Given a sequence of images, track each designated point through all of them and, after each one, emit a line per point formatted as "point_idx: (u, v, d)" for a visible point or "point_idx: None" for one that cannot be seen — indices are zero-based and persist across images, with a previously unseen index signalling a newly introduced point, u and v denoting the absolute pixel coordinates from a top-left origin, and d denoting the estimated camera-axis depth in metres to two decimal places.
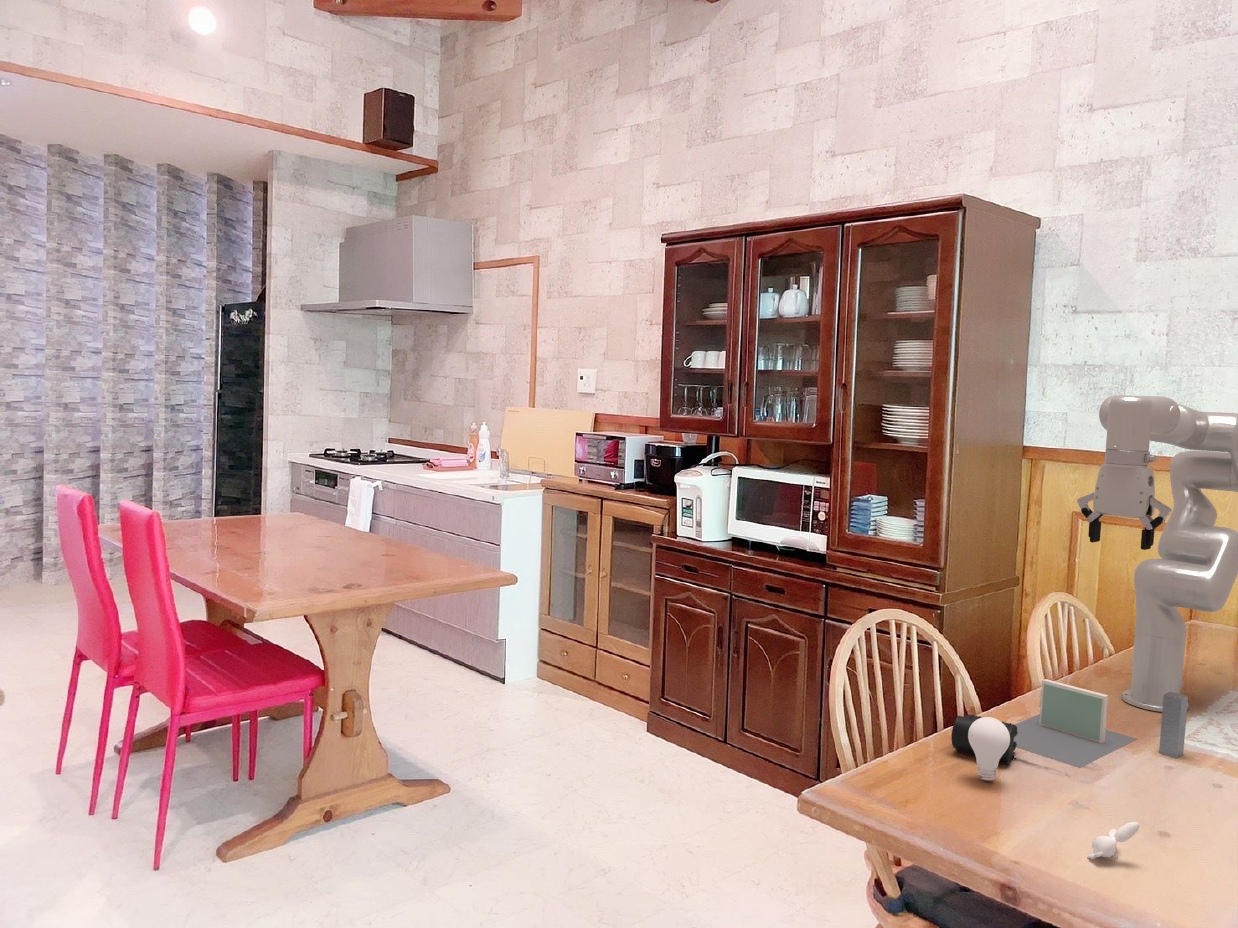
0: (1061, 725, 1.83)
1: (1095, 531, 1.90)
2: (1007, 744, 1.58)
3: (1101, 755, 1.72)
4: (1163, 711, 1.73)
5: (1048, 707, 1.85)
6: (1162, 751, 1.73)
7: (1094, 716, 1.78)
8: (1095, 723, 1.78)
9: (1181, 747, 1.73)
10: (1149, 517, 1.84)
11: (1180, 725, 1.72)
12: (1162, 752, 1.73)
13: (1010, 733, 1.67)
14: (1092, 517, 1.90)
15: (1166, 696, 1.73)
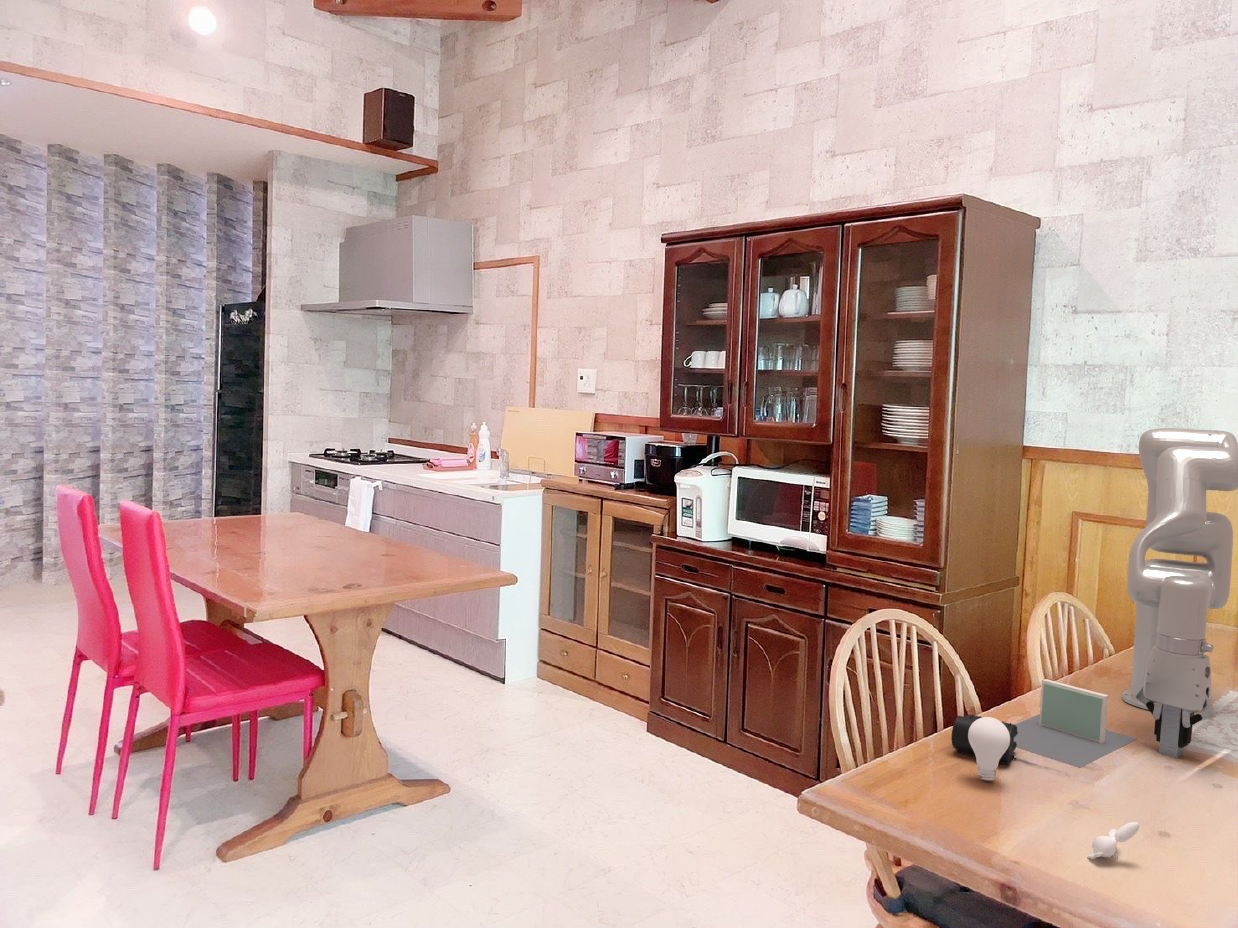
0: (1061, 725, 1.83)
1: None
2: (1007, 744, 1.58)
3: (1101, 755, 1.72)
4: (1163, 711, 1.73)
5: (1048, 707, 1.85)
6: (1162, 751, 1.73)
7: (1094, 716, 1.78)
8: (1095, 723, 1.78)
9: None
10: (1192, 712, 1.71)
11: (1180, 725, 1.72)
12: (1162, 752, 1.73)
13: (1010, 733, 1.67)
14: (1157, 713, 1.74)
15: None
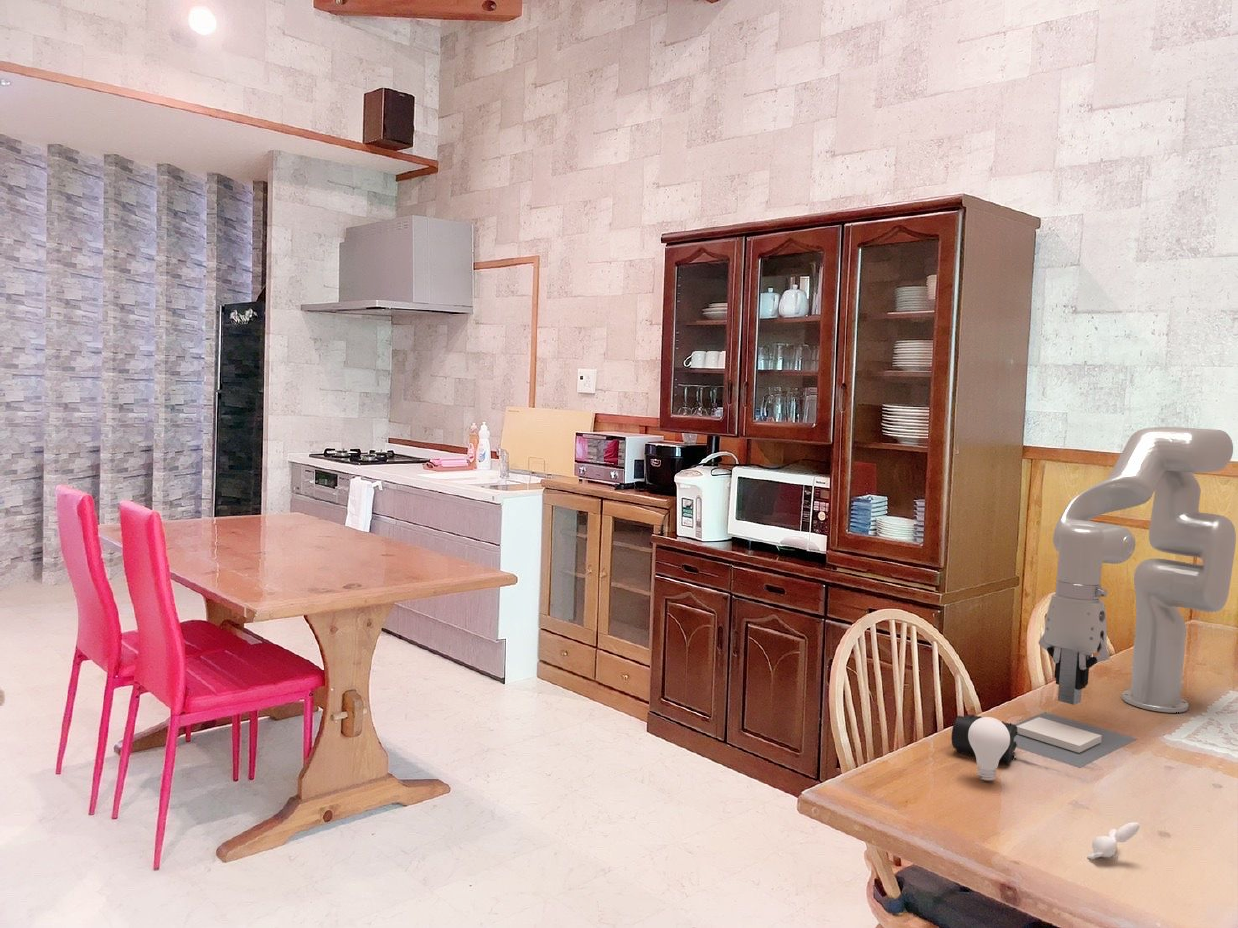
0: None
1: None
2: (1007, 744, 1.58)
3: (1101, 755, 1.72)
4: (1062, 655, 1.80)
5: None
6: (1061, 694, 1.81)
7: None
8: None
9: None
10: (1089, 656, 1.79)
11: (1077, 668, 1.79)
12: (1061, 694, 1.81)
13: (1010, 733, 1.67)
14: (1056, 657, 1.82)
15: None
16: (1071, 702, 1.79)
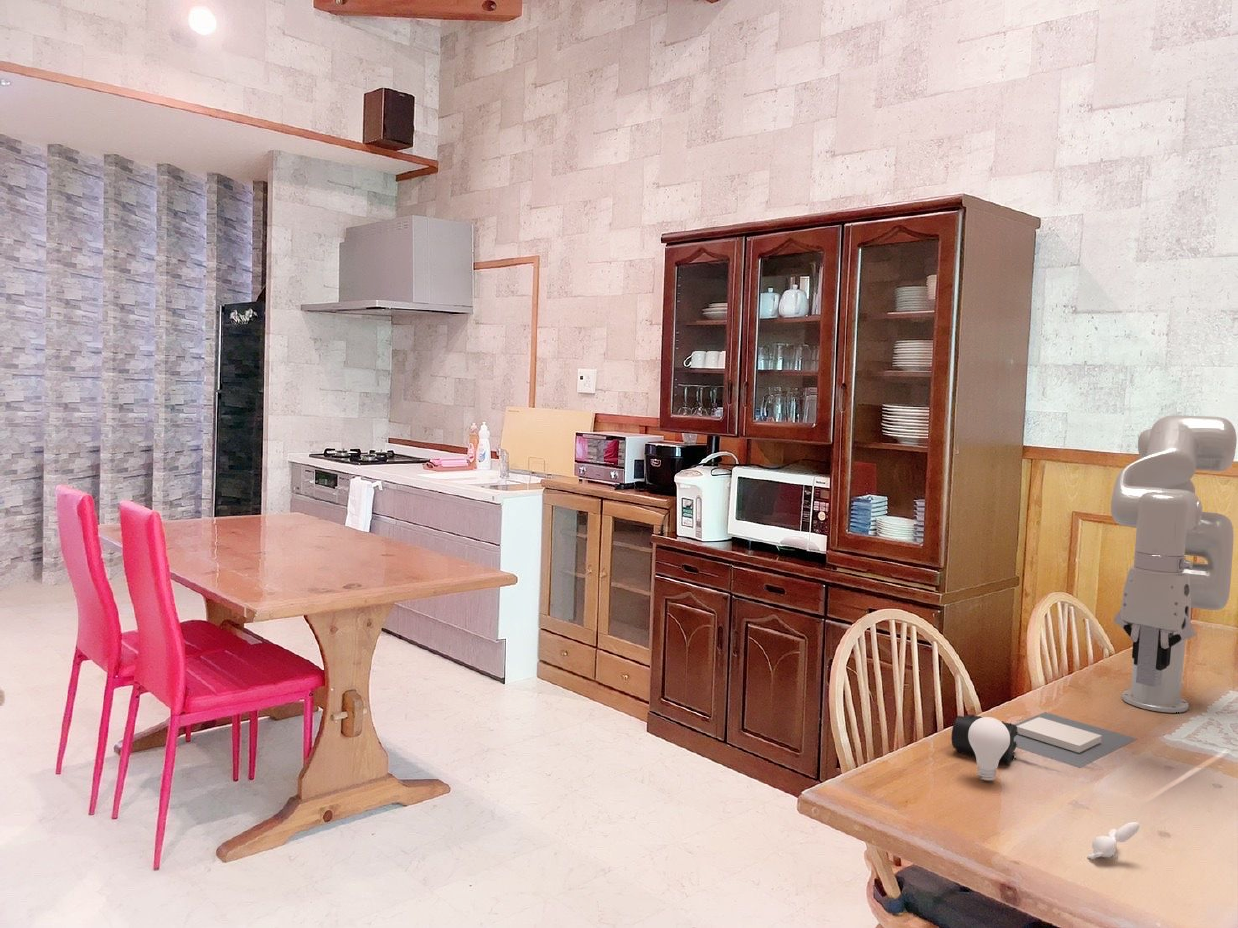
0: None
1: None
2: (1007, 744, 1.58)
3: (1101, 755, 1.72)
4: (1141, 633, 1.66)
5: None
6: (1140, 675, 1.66)
7: None
8: None
9: None
10: (1171, 633, 1.65)
11: (1158, 647, 1.65)
12: (1140, 675, 1.66)
13: (1010, 733, 1.67)
14: (1135, 635, 1.67)
15: None
16: (1151, 684, 1.65)
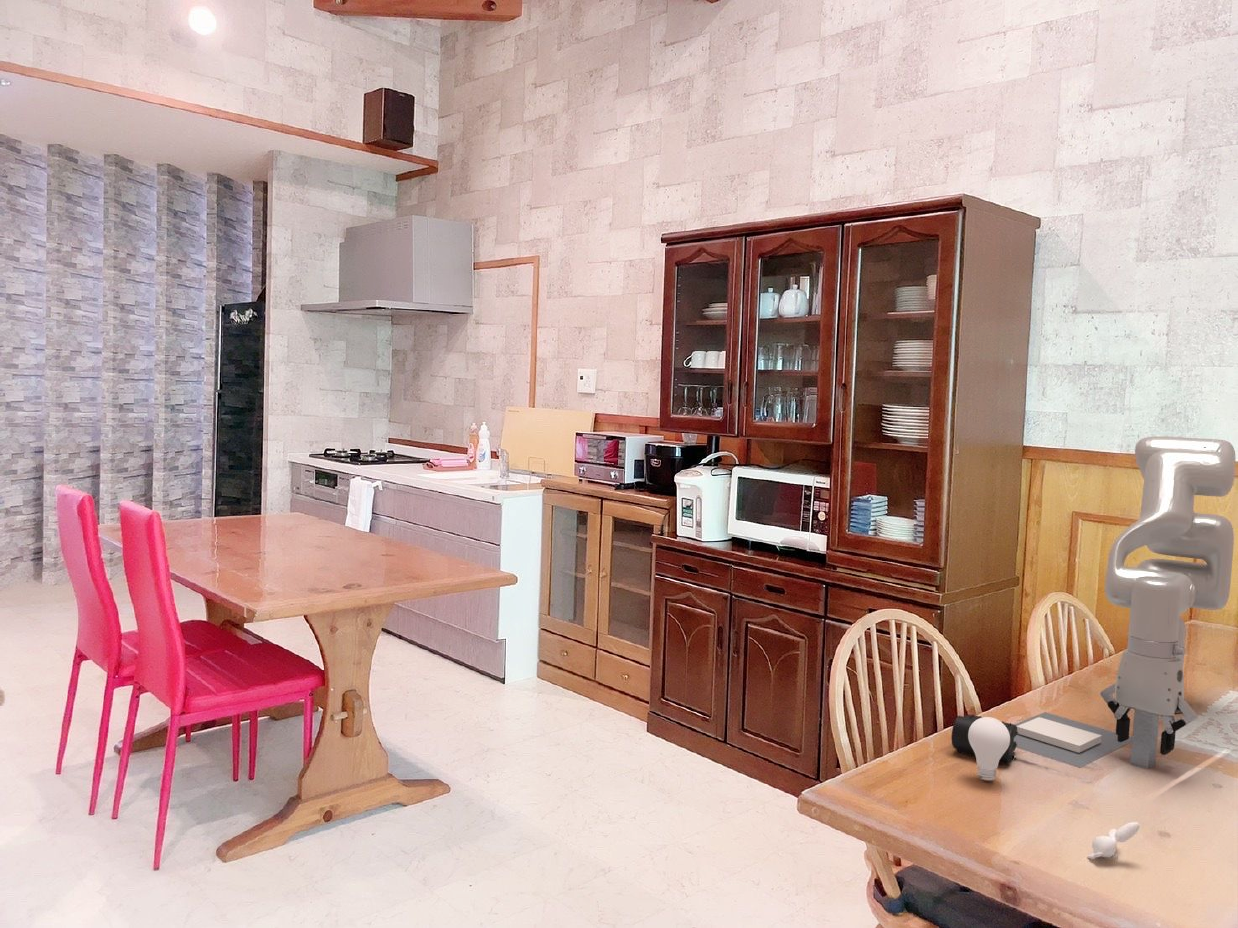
0: None
1: (1123, 730, 1.70)
2: (1007, 744, 1.58)
3: (1101, 755, 1.72)
4: (1134, 720, 1.68)
5: None
6: (1133, 762, 1.68)
7: None
8: None
9: (1153, 757, 1.67)
10: (1172, 717, 1.65)
11: (1152, 735, 1.66)
12: (1133, 762, 1.68)
13: (1010, 733, 1.67)
14: (1119, 713, 1.70)
15: None
16: None
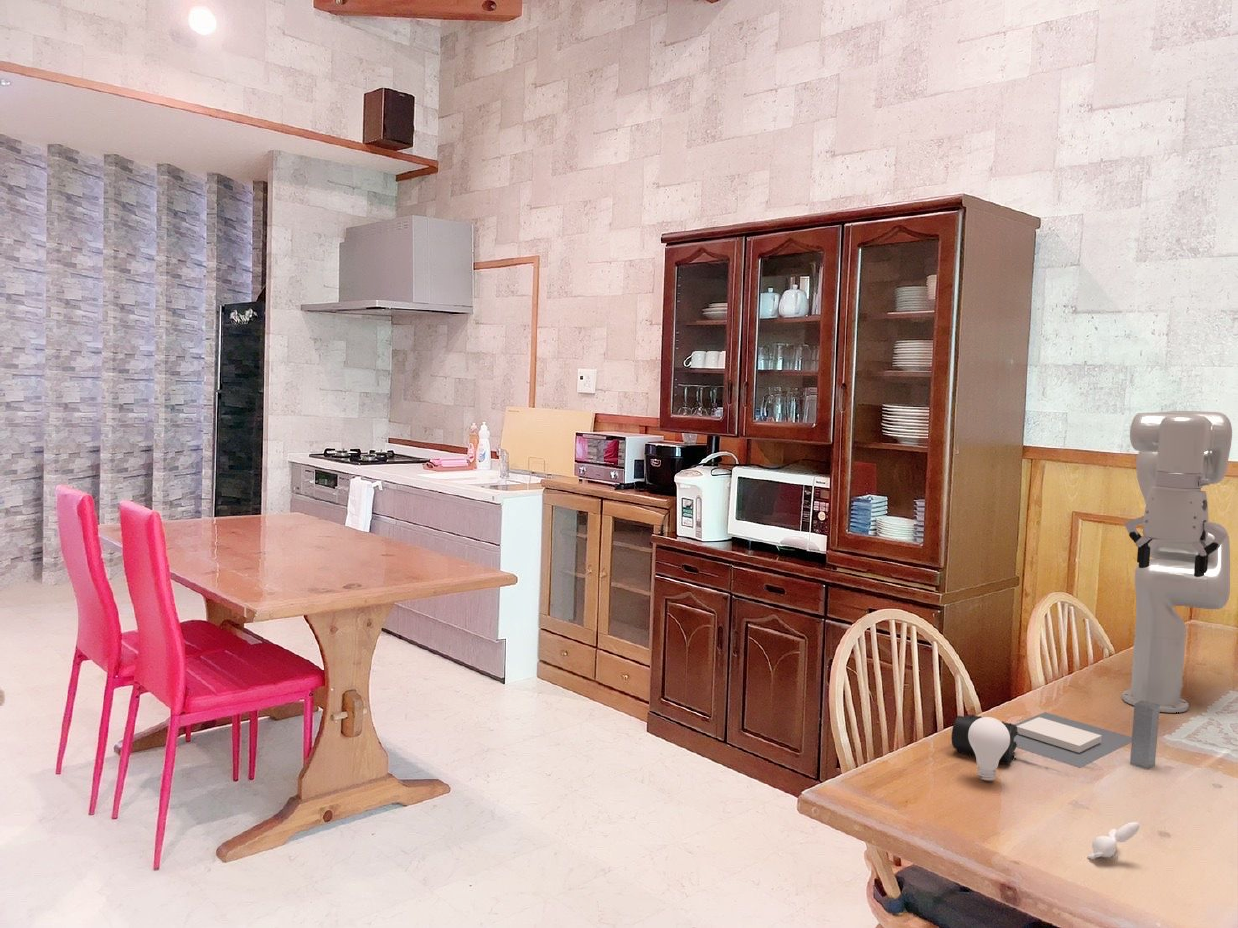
0: None
1: (1144, 556, 1.82)
2: (1007, 744, 1.58)
3: (1101, 755, 1.72)
4: (1134, 720, 1.68)
5: None
6: (1133, 762, 1.68)
7: None
8: None
9: (1153, 757, 1.67)
10: (1202, 543, 1.76)
11: (1152, 735, 1.66)
12: (1133, 763, 1.68)
13: (1010, 733, 1.67)
14: (1141, 542, 1.82)
15: (1137, 705, 1.67)
16: None
